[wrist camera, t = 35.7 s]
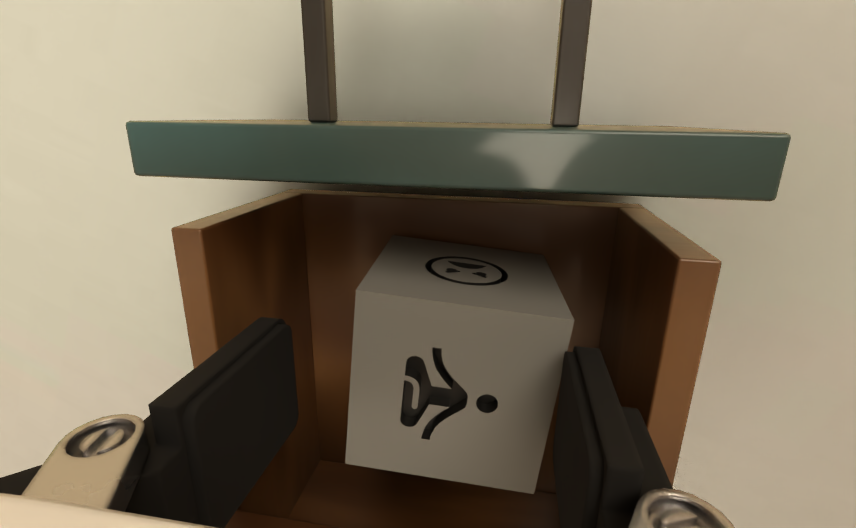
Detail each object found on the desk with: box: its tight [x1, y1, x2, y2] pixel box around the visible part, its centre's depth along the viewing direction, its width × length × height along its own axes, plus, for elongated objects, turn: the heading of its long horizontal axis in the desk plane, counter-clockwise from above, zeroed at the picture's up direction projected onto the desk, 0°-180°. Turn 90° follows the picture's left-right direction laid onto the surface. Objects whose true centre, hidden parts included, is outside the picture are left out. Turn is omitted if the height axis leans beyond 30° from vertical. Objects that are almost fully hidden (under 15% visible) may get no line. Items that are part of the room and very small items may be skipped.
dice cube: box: [345, 235, 574, 494], centre depth 14 cm, size 5×5×5 cm
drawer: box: [126, 0, 791, 528], centre depth 13 cm, size 21×13×7 cm, turn 179°
